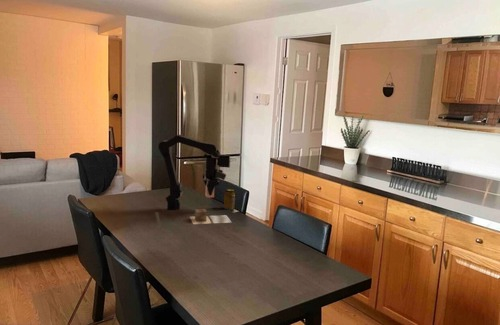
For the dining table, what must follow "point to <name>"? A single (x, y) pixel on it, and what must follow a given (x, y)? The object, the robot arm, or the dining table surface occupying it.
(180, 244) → the dining table surface
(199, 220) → the walnut block
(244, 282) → the dining table surface
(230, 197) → the condiment
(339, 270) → the dining table surface
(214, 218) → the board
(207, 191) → the salmon orange block
